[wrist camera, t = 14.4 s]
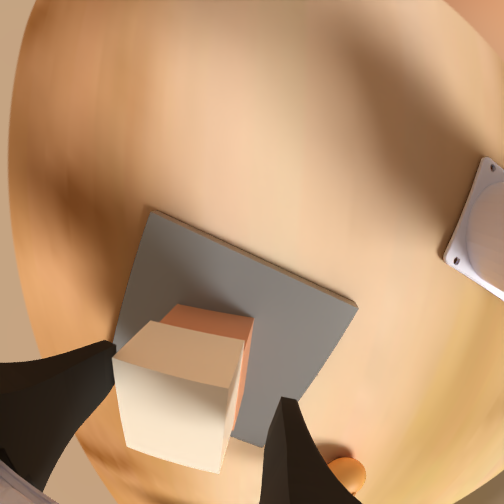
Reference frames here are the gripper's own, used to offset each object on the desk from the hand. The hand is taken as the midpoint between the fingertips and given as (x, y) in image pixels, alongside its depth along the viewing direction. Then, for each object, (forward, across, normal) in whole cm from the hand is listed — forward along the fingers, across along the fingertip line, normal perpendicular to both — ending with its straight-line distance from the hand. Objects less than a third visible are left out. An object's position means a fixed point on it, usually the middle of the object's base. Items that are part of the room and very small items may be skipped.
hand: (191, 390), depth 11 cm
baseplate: (+9, +1, +3) cm, 9 cm away
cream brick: (+4, +1, +2) cm, 4 cm away
